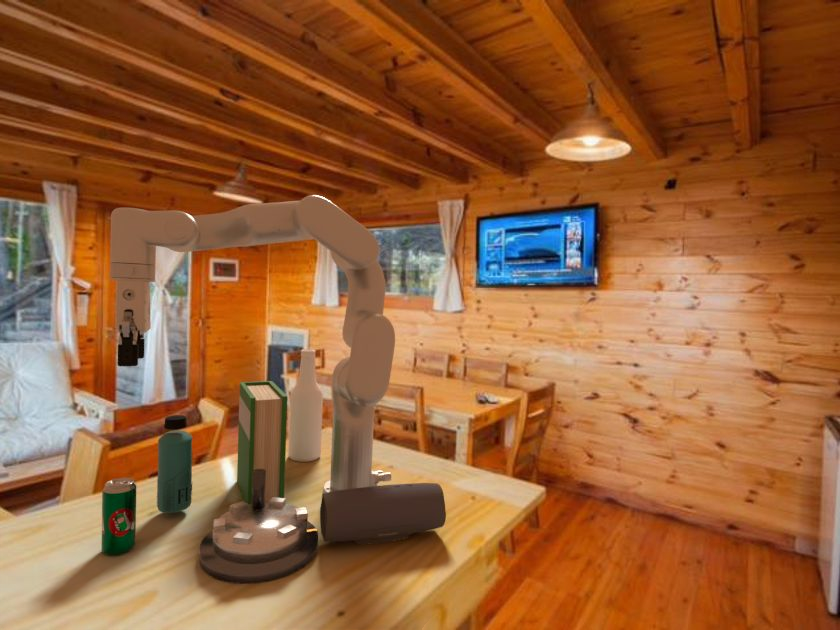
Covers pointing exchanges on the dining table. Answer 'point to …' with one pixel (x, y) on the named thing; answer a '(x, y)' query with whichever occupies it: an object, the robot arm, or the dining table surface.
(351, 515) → the bluetooth speaker
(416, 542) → the dining table surface
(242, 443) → the hardback book
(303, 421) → the white bottle
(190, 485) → the beverage bottle
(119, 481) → the soda can
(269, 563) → the dark brown round plate
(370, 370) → the robot arm
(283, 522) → the brown round knobbed piece
